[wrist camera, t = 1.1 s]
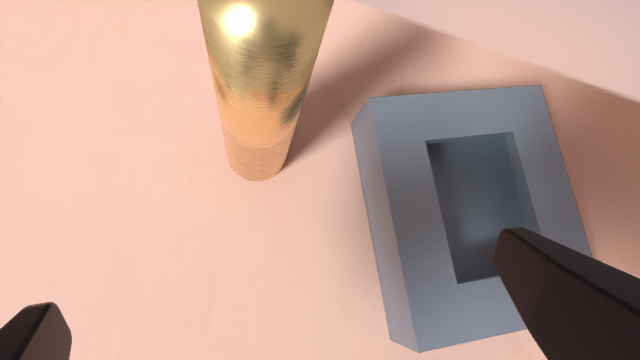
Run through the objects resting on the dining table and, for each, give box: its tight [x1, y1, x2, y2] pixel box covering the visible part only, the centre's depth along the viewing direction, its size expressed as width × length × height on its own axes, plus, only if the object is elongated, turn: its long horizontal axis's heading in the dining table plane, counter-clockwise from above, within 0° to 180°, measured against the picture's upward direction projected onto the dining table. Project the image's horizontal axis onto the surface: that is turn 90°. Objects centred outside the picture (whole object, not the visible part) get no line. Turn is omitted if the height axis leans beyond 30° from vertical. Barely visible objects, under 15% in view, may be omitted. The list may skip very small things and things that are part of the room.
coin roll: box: [197, 0, 334, 181], centre depth 15 cm, size 3×3×13 cm
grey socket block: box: [351, 85, 593, 353], centre depth 21 cm, size 12×10×4 cm
